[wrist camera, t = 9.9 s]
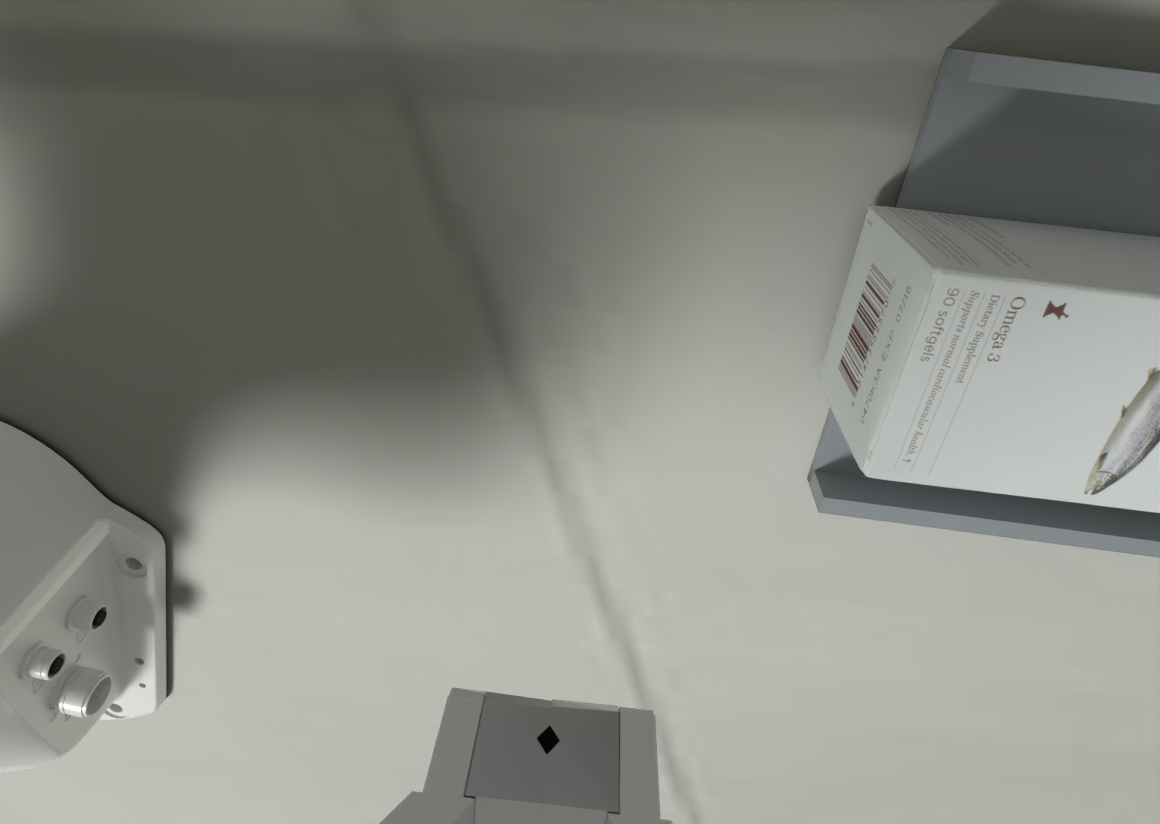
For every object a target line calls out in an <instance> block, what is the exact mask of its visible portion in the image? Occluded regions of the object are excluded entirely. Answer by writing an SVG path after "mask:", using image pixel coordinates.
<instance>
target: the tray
mask: <svg viewBox="0 0 1160 824" xmlns="http://www.w3.org/2000/svg"><path fill="white" fill-rule="evenodd" d="M895 207H896V208H905V209H913V210H922V211H931V212H940V213H948V214H957V215H966V216H975V217H984V218H993V219H1002V220H1011V221H1020V222H1030V223H1039V224H1048V225H1057V226H1066V227H1075V228H1084V229H1092V230H1101V231H1110V232H1119V233H1129V234H1138V235H1147V236H1156V237H1160V73H1157V72H1148V71H1140V70H1131V69H1123V68H1114V67H1105V66H1097V65H1088V64H1080V63H1071V62H1063V61H1054V60H1046V59H1037V58H1028V57H1020V56H1011V55H1003V54H994V53H986V52H977V51H968V50H960V49H951V48H947V49H946V52H945V55H944V58H943V61H942V64H941V67H940V71H939V74H938V77H937V80H936V83H935V86H934V89H933V92H932V95H931V98H930V101H929V104H928V108H927V111H926V114H925V117H924V120H923V123H922V126H921V129H920V132H919V135H918V138H917V141H916V145H915V148H914V151H913V154H912V157H911V160H910V163H909V166H908V169H907V172H906V175H905V178H904V182H903V185H902V188H901V191H900V194H899V197H898V200H897V203H896V206H895ZM807 479H808V482H809V485H810V488H811V491H812V494H813V497H814V500H815V503H816V506H817V509H818V512H819V513H826V514H834V515H842V516H849V517H857V518H864V519H872V520H879V521H887V522H894V523H902V524H910V525H917V526H925V527H932V528H940V529H947V530H955V531H962V532H970V533H978V534H985V535H993V536H1000V537H1008V538H1015V539H1023V540H1030V541H1038V542H1046V543H1053V544H1061V545H1068V546H1076V547H1083V548H1091V549H1098V550H1106V551H1114V552H1121V553H1129V554H1136V555H1144V556H1151V557H1159V558H1160V513H1156V512H1147V511H1138V510H1131V509H1123V508H1115V507H1106V506H1098V505H1091V504H1083V503H1075V502H1066V501H1058V500H1049V499H1041V498H1032V497H1024V496H1015V495H1008V494H998V493H989V492H983V491H974V490H965V489H956V488H948V487H939V486H931V485H923V484H915V483H907V482H898V481H890V480H883V479H876V478H870V477H867V476H865V474H864V473H863V472H862V471H861V470H860V468H859V466H858V463H857V462H856V460H855V458H854V456H853V454H852V452H851V450H850V448H849V445H848V443H847V441H846V439H845V437H844V435H843V433H842V431H841V429H840V426H839V424H838V422H837V420H836V418H835V416H834V414H833V412H832V409H831V407H830V410H829V413H828V416H827V419H826V422H825V425H824V428H823V431H822V435H821V438H820V441H819V444H818V447H817V450H816V453H815V456H814V459H813V462H812V465H811V468H810V472H809V475H808V478H807Z"/></svg>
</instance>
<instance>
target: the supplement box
mask: <svg viewBox="0 0 1160 824" xmlns="http://www.w3.org/2000/svg"><path fill="white" fill-rule="evenodd" d="M818 380H819V383H820V385H821V387H822V390H823V392H824V394H825V396H826V398H827V401H828V403H829V405H830V407H831V409H832V412H833V414H834V416H835V418H836V420H837V422H838V424H839V426H840V429H841V431H842V433H843V435H844V437H845V439H846V441H847V443H848V445H849V448H850V450H851V452H852V454H853V456H854V458H855V460H856V462H857V463H858V466H859V468H860V470H861V471H862V472H863V473H864V474H865V476H867V477H870V478H876V479H883V480H890V481H898V482H907V483H915V484H923V485H931V486H939V487H948V488H956V489H965V490H974V491H983V492H989V493H998V494H1008V495H1015V496H1024V497H1032V498H1041V499H1049V500H1058V501H1066V502H1075V503H1083V504H1091V505H1098V506H1106V507H1115V508H1123V509H1131V510H1138V511H1147V512H1156V513H1160V237H1156V236H1147V235H1138V234H1129V233H1119V232H1110V231H1101V230H1092V229H1084V228H1075V227H1066V226H1057V225H1048V224H1039V223H1030V222H1020V221H1011V220H1002V219H993V218H984V217H975V216H966V215H957V214H948V213H940V212H931V211H922V210H913V209H905V208H896V207H887V206H875V205H870V206H869V208H868V211H867V214H866V217H865V221H864V224H863V228H862V231H861V234H860V238H859V241H858V244H857V248H856V251H855V254H854V258H853V261H852V264H851V268H850V271H849V275H848V278H847V281H846V285H845V288H844V291H843V295H842V298H841V301H840V305H839V308H838V312H837V315H836V318H835V322H834V325H833V329H832V332H831V335H830V339H829V342H828V346H827V349H826V352H825V355H824V358H823V361H822V364H821V367H820V370H819V373H818Z"/></svg>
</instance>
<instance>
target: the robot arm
mask: <svg viewBox="0 0 1160 824" xmlns="http://www.w3.org/2000/svg"><path fill="white" fill-rule="evenodd" d="M165 698H166V550H165V542H164V539H163V537H162V536H161V534H160V533H159V532H158V531H157V530H156V529H155V528H153V527H152V526H151V525H149V524H148V523H146V522H145V521H143V520H142V519H140V518H139V517H137V516H135V515H133V514H132V513H130V512H128V511H126V510H125V509H123V508H121V507H119V506H117V505H116V504H114V503H112V502H111V501H110V500H108V499H107V498H106V497H104V496H103V495H102V494H101V493H100V492H99V491H98V490H97V489H96V488H95V487H94V486H93V485H92V484H91V483H90V482H89V481H88V480H87V479H86V478H84V477H83V476H82V475H81V474H80V473H79V472H78V471H77V470H76V469H75V468H74V467H73V466H72V465H70V464H69V463H68V462H67V461H66V460H64V459H63V458H62V457H61V456H59V455H58V454H56V453H55V452H54V451H52V450H51V449H50V448H48V447H47V446H45V445H44V444H42V443H41V442H39V441H37V440H36V439H34V438H32V437H31V436H29V435H27V434H26V433H24V432H22V431H20V430H18V429H16V428H14V427H12V426H10V425H8V424H6V423H3V422H1V421H0V772H10V771H20V770H27V769H32V768H36V767H39V766H43V765H46V764H49V763H51V762H53V761H55V760H57V759H58V758H60V757H62V756H63V755H65V754H66V753H67V752H69V751H70V750H71V749H72V748H73V747H74V746H75V745H76V744H77V743H78V742H79V741H80V740H81V739H82V738H83V737H84V736H85V735H86V734H87V733H88V732H89V730H90V729H91V728H92V727H93V726H94V725H95V723H96V722H97V721H98V720H118V719H128V718H135V717H139V716H143V715H146V714H149V713H152V712H154V711H156V710H157V708H158V707H159V706H160V705H161V704H162V703H163V701H164V700H165ZM380 824H673V823H672V822H671V821H670V820H664V819H660V802H659V782H658V762H657V742H656V722H655V716H654V713H653V711H652V710H644V709H635V708H625V707H619V708H618V706H614V705H604V704H594V703H584V702H574V701H563V700H553V699H552V701H550V700H543V699H536V698H528V697H521V696H514V695H507V694H500V693H493V692H485V691H477V690H469V689H461V688H452V690H451V692H450V694H449V696H448V698H447V702H446V706H445V709H444V713H443V717H442V721H441V725H440V728H439V732H438V736H437V740H436V743H435V747H434V751H433V755H432V759H431V762H430V766H429V770H428V774H427V777H426V781H425V785H424V789H423V792H414V791H412V792H411V793H410V794H409V795H408V796H407V797H406V798H405V799H404V800H403V801H402V802H401V803H400V804H399V805H398V806H397V807H396V808H395V809H394V810H393V811H392V812H391V813H390V814H389V815H388V816H387V817H386V818H385V819H384V820H383V821H382V822H381V823H380Z"/></svg>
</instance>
